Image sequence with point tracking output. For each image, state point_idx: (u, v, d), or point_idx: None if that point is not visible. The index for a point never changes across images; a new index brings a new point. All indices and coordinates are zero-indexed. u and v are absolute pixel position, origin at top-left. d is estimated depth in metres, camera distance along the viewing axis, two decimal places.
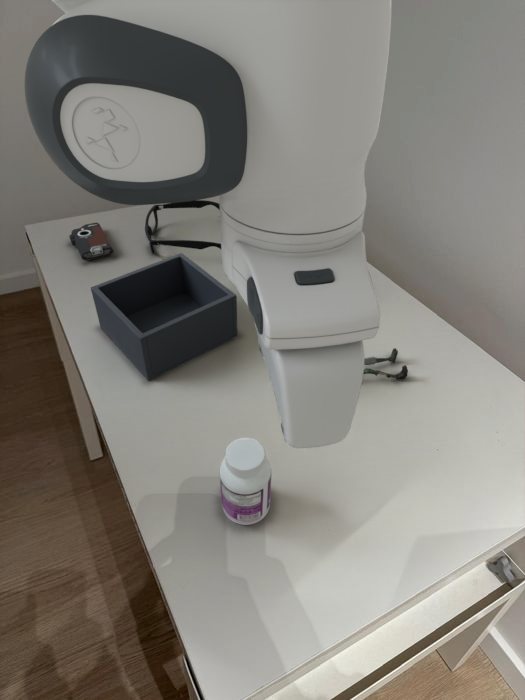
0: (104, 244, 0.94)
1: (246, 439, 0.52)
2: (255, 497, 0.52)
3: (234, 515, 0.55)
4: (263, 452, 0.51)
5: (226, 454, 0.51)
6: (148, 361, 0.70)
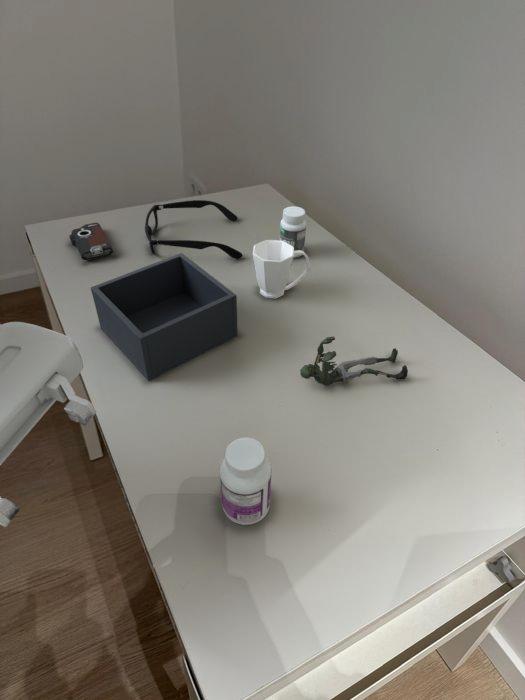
0: (104, 244, 0.94)
1: (246, 439, 0.52)
2: (255, 497, 0.52)
3: (234, 515, 0.55)
4: (263, 452, 0.51)
5: (226, 454, 0.51)
6: (148, 361, 0.70)
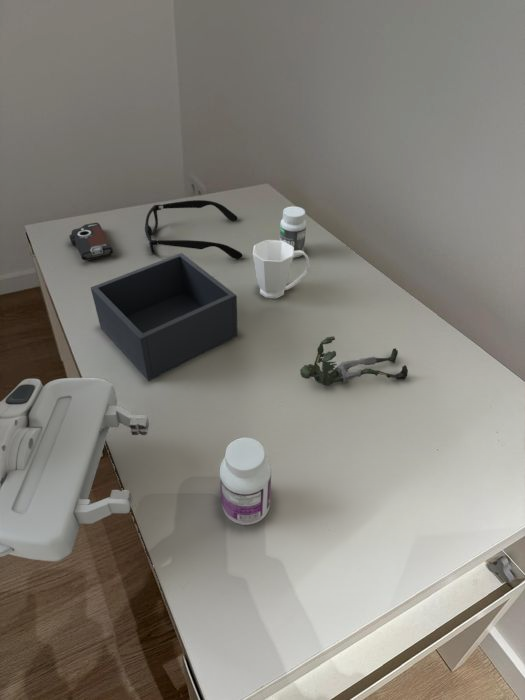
0: (104, 244, 0.94)
1: (246, 439, 0.52)
2: (255, 497, 0.52)
3: (234, 515, 0.55)
4: (263, 452, 0.51)
5: (226, 454, 0.51)
6: (148, 361, 0.70)
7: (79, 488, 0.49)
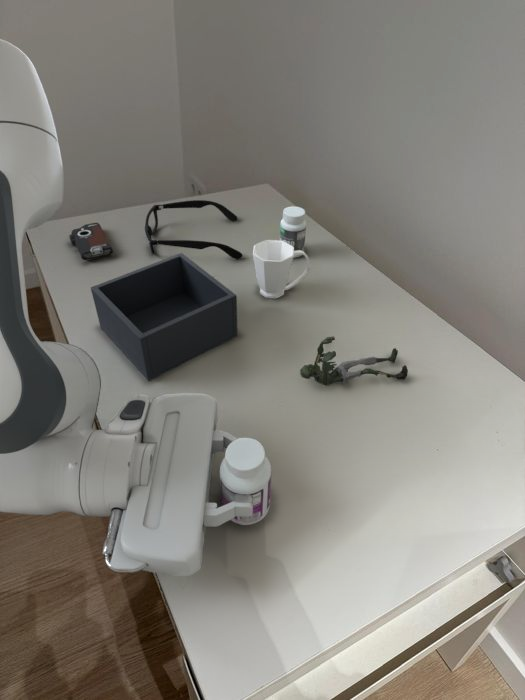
0: (104, 244, 0.94)
1: (246, 439, 0.52)
2: (256, 497, 0.52)
3: None
4: (263, 452, 0.51)
5: (226, 454, 0.51)
6: (148, 361, 0.70)
7: (204, 504, 0.50)
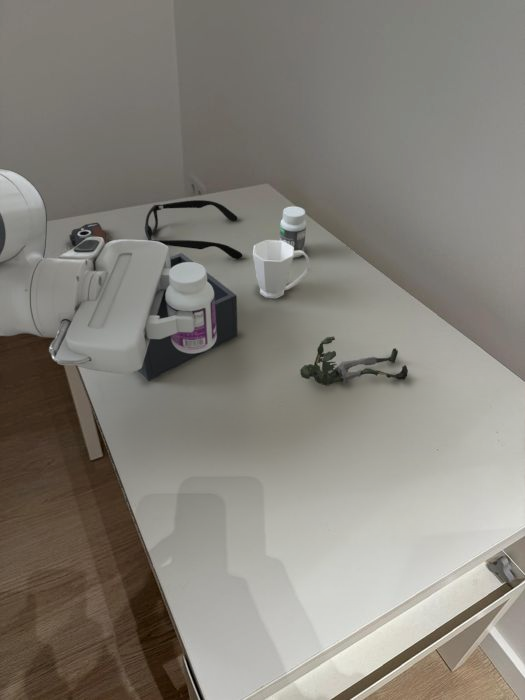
0: None
1: (190, 263, 0.56)
2: (198, 316, 0.55)
3: (180, 341, 0.58)
4: (204, 271, 0.55)
5: (170, 272, 0.54)
6: (148, 361, 0.70)
7: (147, 314, 0.53)
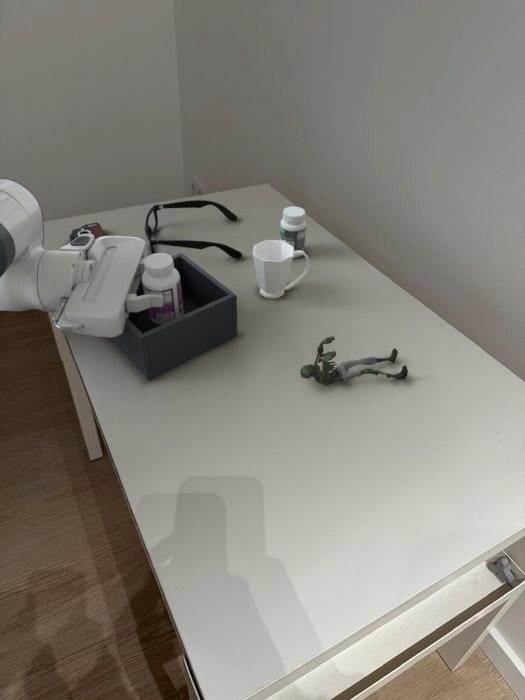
0: None
1: (160, 253, 0.72)
2: (167, 294, 0.72)
3: (154, 315, 0.74)
4: (171, 260, 0.71)
5: (144, 260, 0.71)
6: (148, 361, 0.70)
7: (127, 293, 0.69)
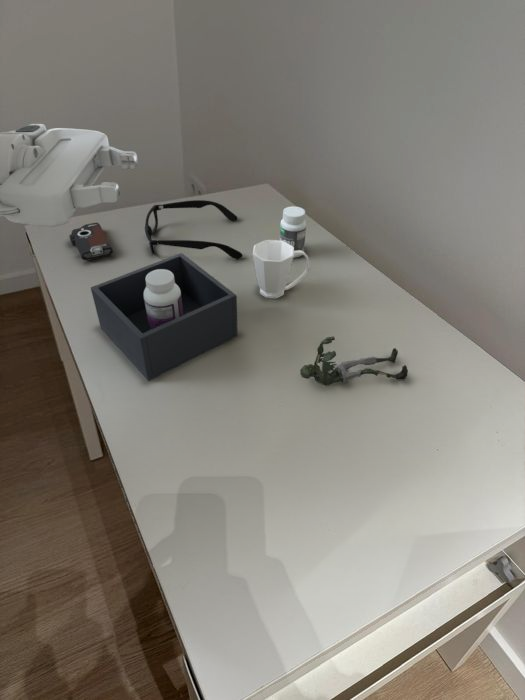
0: (104, 244, 0.94)
1: (162, 270, 0.74)
2: (168, 310, 0.73)
3: None
4: (172, 276, 0.72)
5: (146, 277, 0.72)
6: (148, 361, 0.70)
7: (75, 177, 0.58)
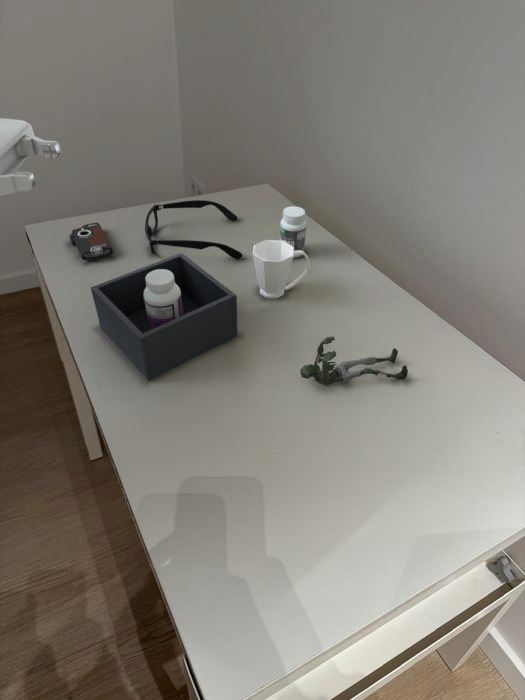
0: (104, 244, 0.94)
1: (162, 270, 0.74)
2: (168, 310, 0.73)
3: None
4: (172, 276, 0.72)
5: (146, 277, 0.72)
6: (148, 361, 0.70)
7: None
